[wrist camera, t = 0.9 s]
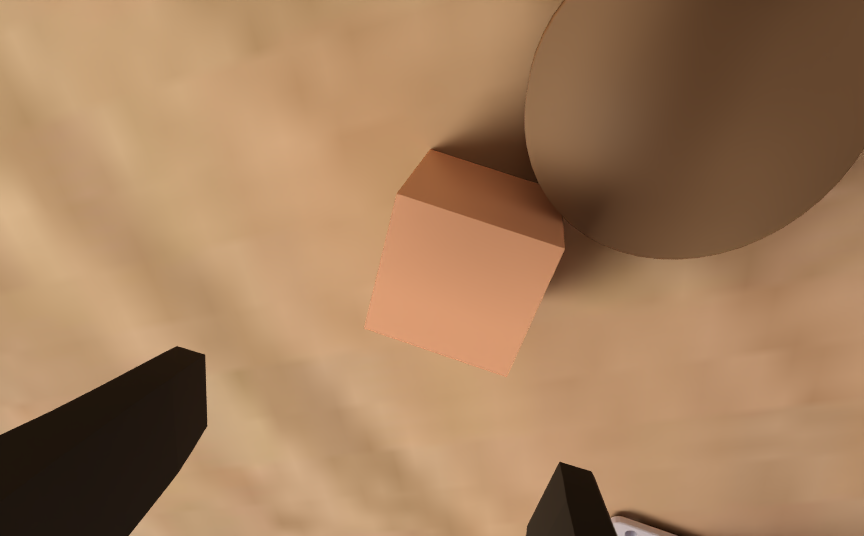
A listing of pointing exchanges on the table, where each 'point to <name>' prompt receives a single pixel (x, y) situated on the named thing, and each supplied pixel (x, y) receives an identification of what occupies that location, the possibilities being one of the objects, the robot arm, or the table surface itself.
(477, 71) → the table surface
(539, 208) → the cube
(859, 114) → the pedestal
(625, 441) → the table surface
